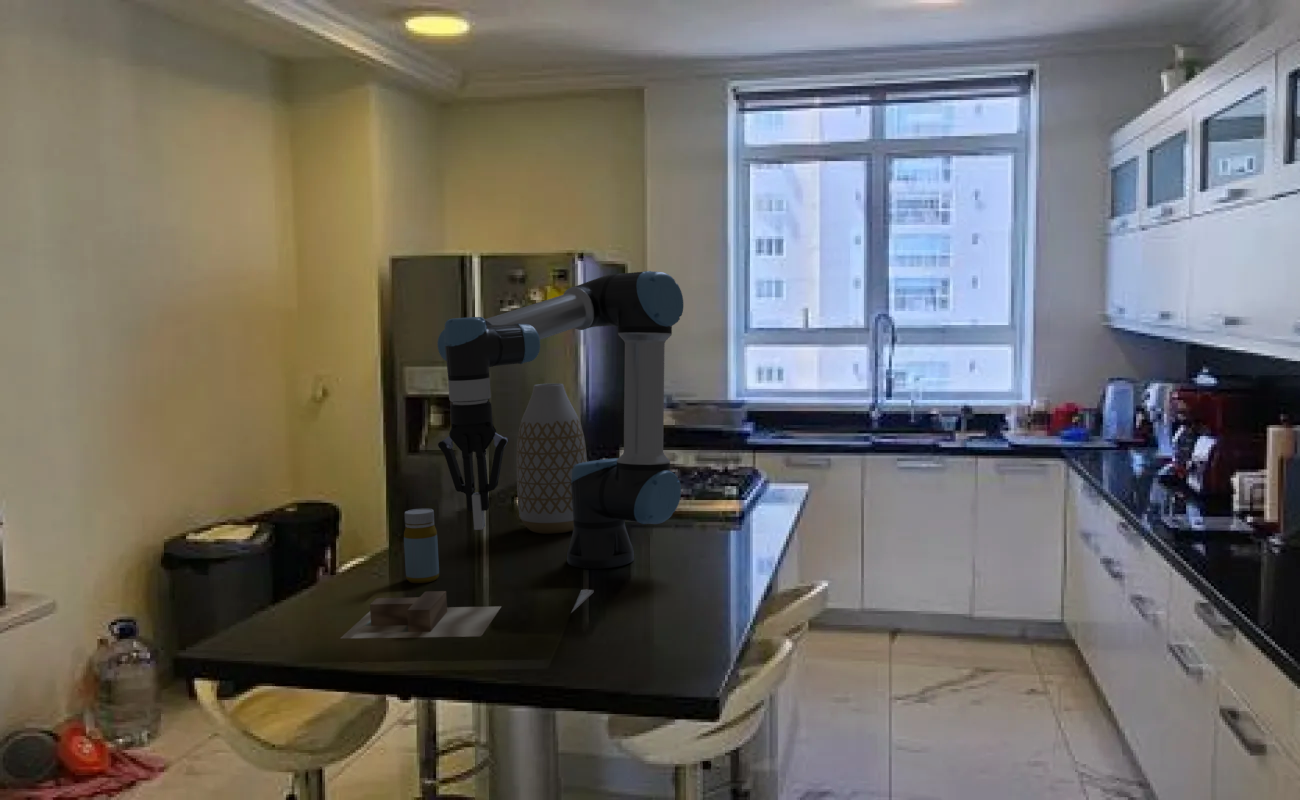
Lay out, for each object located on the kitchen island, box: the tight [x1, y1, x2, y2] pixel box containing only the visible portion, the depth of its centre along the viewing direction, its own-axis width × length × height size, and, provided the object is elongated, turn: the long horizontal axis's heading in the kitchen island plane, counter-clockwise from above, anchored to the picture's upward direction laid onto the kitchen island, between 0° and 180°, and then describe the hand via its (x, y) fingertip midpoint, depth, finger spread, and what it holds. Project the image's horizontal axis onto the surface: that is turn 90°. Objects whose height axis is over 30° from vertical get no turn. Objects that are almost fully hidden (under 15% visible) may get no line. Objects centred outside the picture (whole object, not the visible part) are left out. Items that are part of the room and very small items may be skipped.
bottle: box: [403, 508, 440, 584], centre depth 225 cm, size 7×7×15 cm
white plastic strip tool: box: [570, 588, 594, 614], centre depth 205 cm, size 5×15×1 cm, turn 165°
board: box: [340, 605, 502, 640], centre depth 191 cm, size 25×18×1 cm
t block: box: [369, 590, 448, 632], centre depth 191 cm, size 12×12×4 cm
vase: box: [516, 383, 588, 535], centre depth 272 cm, size 19×18×38 cm
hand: (479, 527), depth 194 cm, fingers closed
